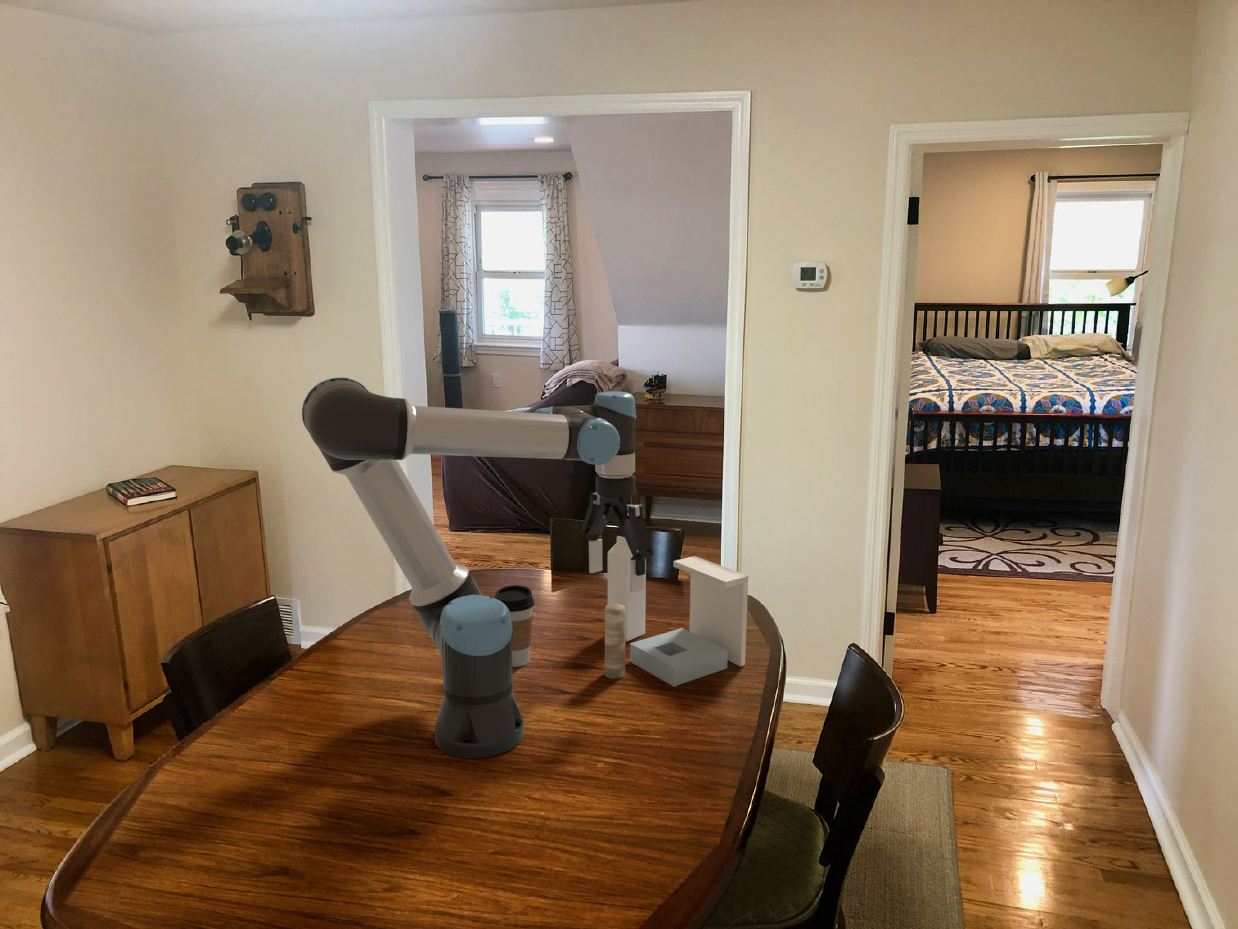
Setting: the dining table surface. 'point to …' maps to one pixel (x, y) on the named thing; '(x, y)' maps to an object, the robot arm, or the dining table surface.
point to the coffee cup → (519, 620)
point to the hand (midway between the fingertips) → (615, 580)
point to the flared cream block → (718, 605)
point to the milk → (626, 589)
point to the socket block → (678, 656)
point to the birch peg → (615, 641)
